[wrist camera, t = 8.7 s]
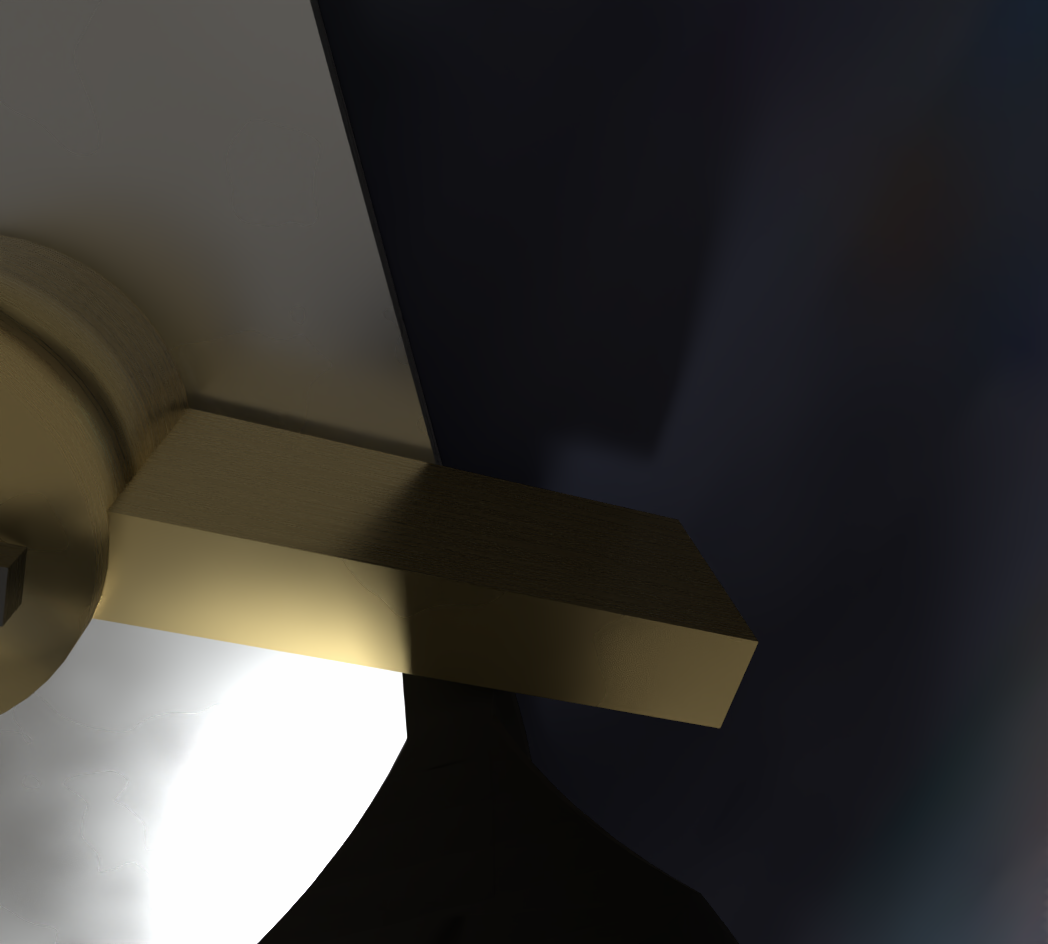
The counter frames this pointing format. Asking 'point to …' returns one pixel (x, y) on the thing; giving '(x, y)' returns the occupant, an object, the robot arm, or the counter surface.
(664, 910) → the robot arm
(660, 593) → the knob
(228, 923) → the levelling plate
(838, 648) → the counter surface
